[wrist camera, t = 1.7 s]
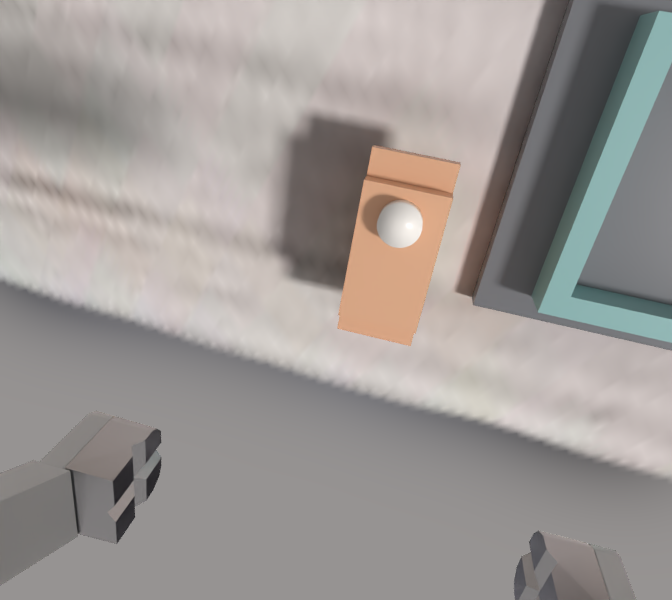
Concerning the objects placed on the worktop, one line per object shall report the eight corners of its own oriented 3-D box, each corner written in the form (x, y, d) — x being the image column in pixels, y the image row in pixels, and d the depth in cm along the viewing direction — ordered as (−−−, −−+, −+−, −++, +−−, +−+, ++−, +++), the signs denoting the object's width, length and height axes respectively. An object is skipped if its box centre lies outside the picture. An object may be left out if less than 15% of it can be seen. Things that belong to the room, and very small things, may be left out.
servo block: (349, 296, 30) (331, 344, 25) (381, 134, 26) (367, 152, 21) (413, 311, 30) (408, 363, 25) (457, 150, 25) (462, 172, 20)
